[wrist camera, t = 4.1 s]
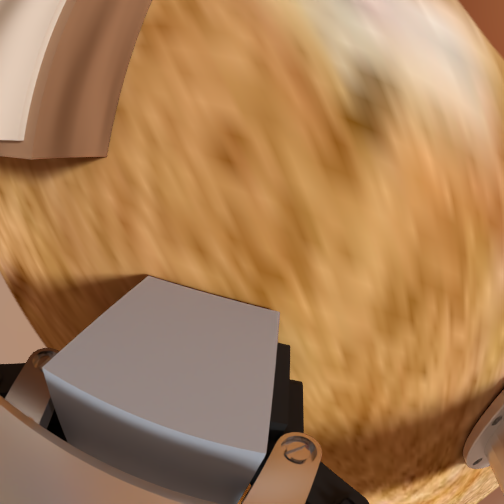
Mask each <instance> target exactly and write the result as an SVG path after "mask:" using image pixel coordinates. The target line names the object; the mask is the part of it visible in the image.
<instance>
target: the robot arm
mask: <svg viewBox="0 0 504 504" xmlns="http://www.w3.org/2000/svg"><path fill="white" fill-rule="evenodd" d="M59 352H60V351H58V350H56V349H52V348H43V349H39V350H37V351H35V352H33V354H32V355H31V356H30V357H29V359H28V360H27V362H26V363H21V364H0V504H219V503H214V502H210V501H206V500H203V499H199V498H195V497H192V496H188V495H185V494H182V493H179V492H176V491H172V490H169V489H167V488H164V487H161V486H158V485H155V484H153V483H150V482H147V481H145V480H142V479H140V478H137V477H135V476H132V475H130V474H128V473H125V472H123V471H121V470H119V469H117V468H114V467H112V466H110V465H108V464H106V463H104V462H102V461H100V460H98V459H96V458H94V457H92V456H90V455H88V454H87V453H85V452H83V451H81V450H79V449H77V448H76V447H74V446H72V445H71V444H69V443H68V442H67V439H66V437H65V435H64V432H63V430H62V427H61V424H60V422H59V419H58V416H57V414H56V411H55V408H54V405H53V402H52V399H51V396H50V393H49V390H48V386H47V383H46V379H45V376H44V372H43V369H42V367H43V366H44V365H45V364H47V363H48V362H49V361H50V360H51V359H52V358H53V357H54V356H55V355H56V354H57V353H59ZM463 457H464V459H465V462H466V464H467V466H468V467H469V468H473V469H479V468H484V467H488V466H491V468H492V470H493V472H494V475H495V477H496V479H497V481H498V484H499V486H500V488H501V490H502V493H503V496H504V389H503V390H502V392H501V393H500V394H499V395H498V396H497V398H496V399H495V400H494V401H493V402H492V404H491V405H490V406H489V408H488V409H487V410H486V411H485V413H484V414H483V415H482V416H481V418H480V419H479V421H478V422H477V424H476V425H475V426H474V428H473V430H472V431H471V433H470V435H469V437H468V438H467V441H466V443H465V446H464V448H463ZM321 458H322V449H321V446H320V445H319V443H318V442H317V441H316V440H315V439H314V438H313V437H311V436H309V435H307V434H304V426H303V384H302V382H300V381H295V380H290V345H286V344H281V343H277V353H276V365H275V376H274V386H273V397H272V406H271V416H270V425H269V434H268V443H267V452H266V455H265V457H264V459H263V461H262V462H261V464H260V466H259V468H258V469H257V471H256V473H255V475H254V476H253V478H252V480H251V482H250V484H251V485H252V486H251V487H250V489H249V491H248V492H247V494H246V496H245V497H244V499H243V501H242V502H241V504H369V502H368V501H367V499H366V498H365V497H364V496H362V495H361V494H360V493H359V492H357V491H356V490H355V489H353V488H352V487H351V486H350V485H348V484H347V483H346V482H345V481H343V480H342V479H341V478H340V477H338V476H337V475H336V474H335V473H334V472H332V471H331V470H330V469H329V468H328V467H326V466H325V465H324V464H323V463H322V462H321Z"/></svg>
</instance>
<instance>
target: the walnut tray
mask: <svg viewBox="0 0 504 504" xmlns="http://www.w3.org/2000/svg"><path fill="white" fill-rule="evenodd" d="M151 1H152V0H0V156H4V157H14V158H23V159H46V158H67V157H107V152H108V147H109V141H110V136H111V131H112V126H113V121H114V117H115V113H116V108H117V104H118V100H119V96H120V92H121V88H122V85H123V81H124V78H125V74H126V71H127V67H128V64H129V61H130V58H131V55H132V52H133V49H134V46H135V43H136V40H137V37H138V34H139V32H140V29H141V26H142V24H143V21H144V18H145V16H146V13H147V11H148V9H149V6H150V4H151Z"/></svg>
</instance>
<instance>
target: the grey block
mask: <svg viewBox="0 0 504 504" xmlns="http://www.w3.org/2000/svg"><path fill="white" fill-rule="evenodd" d="M279 316H280V312H277V311H273V310H269V309H265V308H261V307H258V306H254V305H250V304H246V303H242V302H238V301H235V300H231V299H227V298H223V297H220V296H216V295H213V294H209V293H205V292H202V291H198V290H195V289H191V288H188V287H184V286H181V285H178V284H174V283H171V282H168V281H164V280H161V279H158V278H154V277H151V276H147V277H146V278H145V279H144V280H142V281H141V282H140V283H139V284H138V285H136V286H135V287H134V288H133V289H131V290H130V291H129V292H128V293H127V294H125V295H124V296H123V297H122V298H121V299H119V300H118V301H117V302H116V303H115V304H113V305H112V306H111V307H110V308H109V309H108V310H106V311H105V312H104V313H103V314H102V315H101V316H99V317H98V318H97V319H96V320H95V321H94V322H92V323H91V324H90V325H89V326H88V327H87V328H86V329H84V330H83V331H82V332H81V333H80V334H79V335H78V336H76V337H75V338H74V339H73V340H72V341H71V342H70V343H69V344H67V345H66V346H65V347H64V348H63V349H62V350H61V351H60V352H59V353H57V354H56V355H55V356H54V357H53V358H52V359H51V360H50V361H49V362H48V363H47V364H45V365H44V366H43V367H42V369H43V372H44V376H45V379H46V383H47V386H48V390H49V393H50V396H51V399H52V402H53V405H54V408H55V411H56V414H57V416H58V419H59V422H60V424H61V427H62V430H63V432H64V435H65V437H66V439H67V442H68V443H69V444H71V445H72V446H74V447H76V448H77V449H79V450H81V451H83V452H85V453H87V454H88V455H90V456H92V457H94V458H96V459H98V460H100V461H102V462H104V463H106V464H108V465H110V466H112V467H114V468H117V469H119V470H121V471H123V472H125V473H128V474H130V475H132V476H135V477H137V478H140V479H142V480H145V481H147V482H150V483H153V484H155V485H158V486H161V487H164V488H167V489H169V490H172V491H176V492H179V493H182V494H185V495H188V496H192V497H195V498H199V499H203V500H206V501H210V502H214V503H219V504H237V503H238V501H239V500H240V498H241V497H242V495H243V493H244V492H245V490H246V488H247V487H248V485H249V483H250V482H251V480H252V478H253V476H254V475H255V473H256V471H257V469H258V468H259V466H260V464H261V462H262V461H263V459H264V457H265V455H266V452H267V443H268V434H269V425H270V416H271V406H272V397H273V386H274V376H275V365H276V353H277V342H278V329H279Z"/></svg>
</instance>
